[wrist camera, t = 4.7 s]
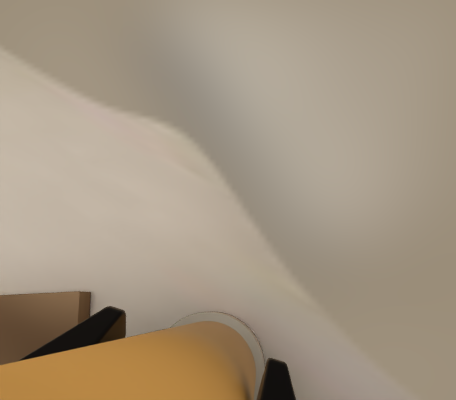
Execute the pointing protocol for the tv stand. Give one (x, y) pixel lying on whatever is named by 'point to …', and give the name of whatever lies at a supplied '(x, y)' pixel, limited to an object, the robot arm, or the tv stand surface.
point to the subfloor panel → (37, 320)
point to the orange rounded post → (148, 366)
